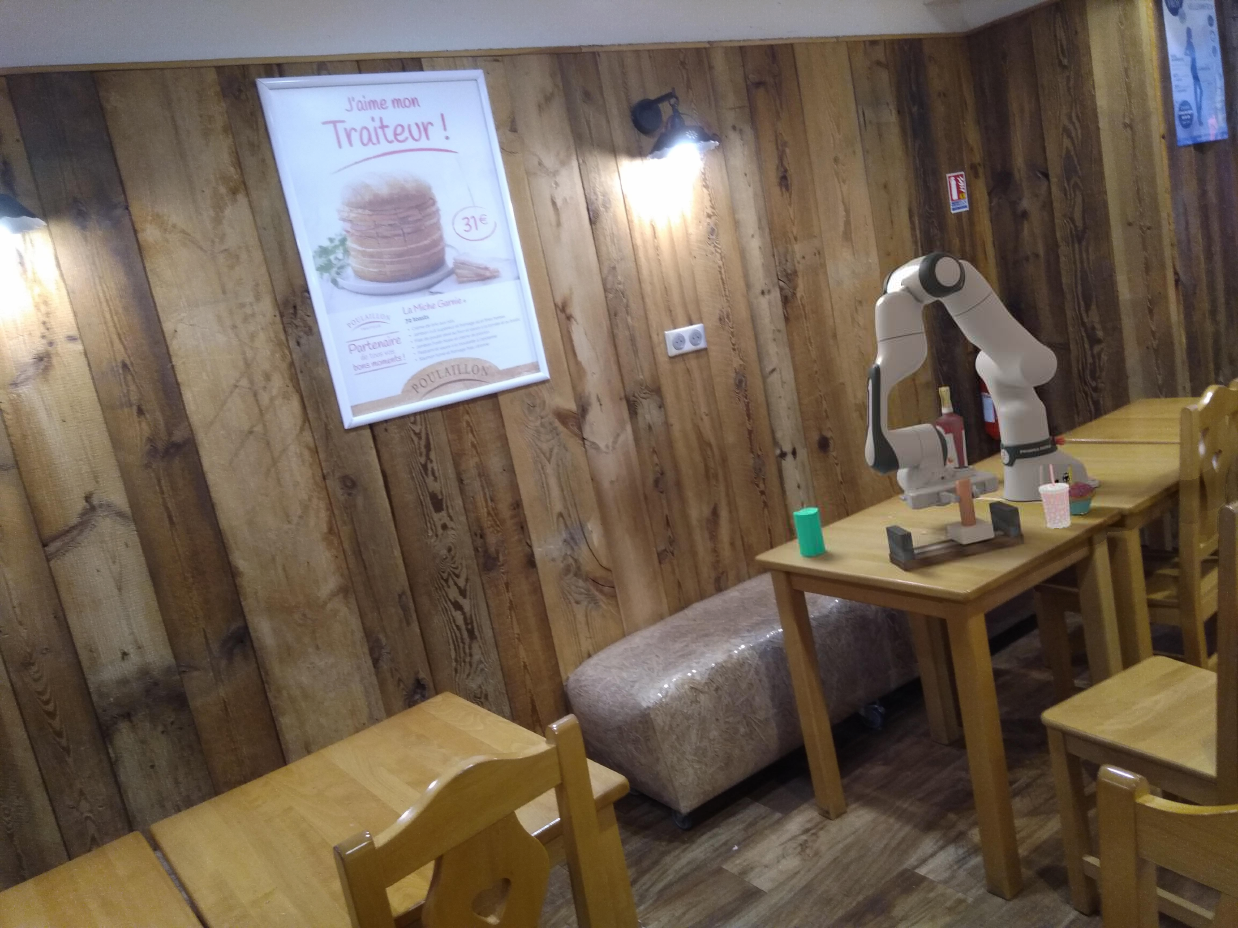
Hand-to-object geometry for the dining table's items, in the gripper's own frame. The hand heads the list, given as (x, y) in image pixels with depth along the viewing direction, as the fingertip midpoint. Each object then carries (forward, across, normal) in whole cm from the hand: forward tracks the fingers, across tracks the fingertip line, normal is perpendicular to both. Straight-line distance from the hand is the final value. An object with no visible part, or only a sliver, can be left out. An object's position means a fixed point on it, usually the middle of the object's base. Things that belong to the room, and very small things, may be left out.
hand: (966, 496), depth 194 cm
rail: (-1, -4, +12) cm, 13 cm away
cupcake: (-9, +29, +12) cm, 33 cm away
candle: (-25, -29, +12) cm, 40 cm away
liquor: (-55, +23, +12) cm, 61 cm away
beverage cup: (-3, +21, +12) cm, 25 cm away
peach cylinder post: (-1, 0, +9) cm, 9 cm away
